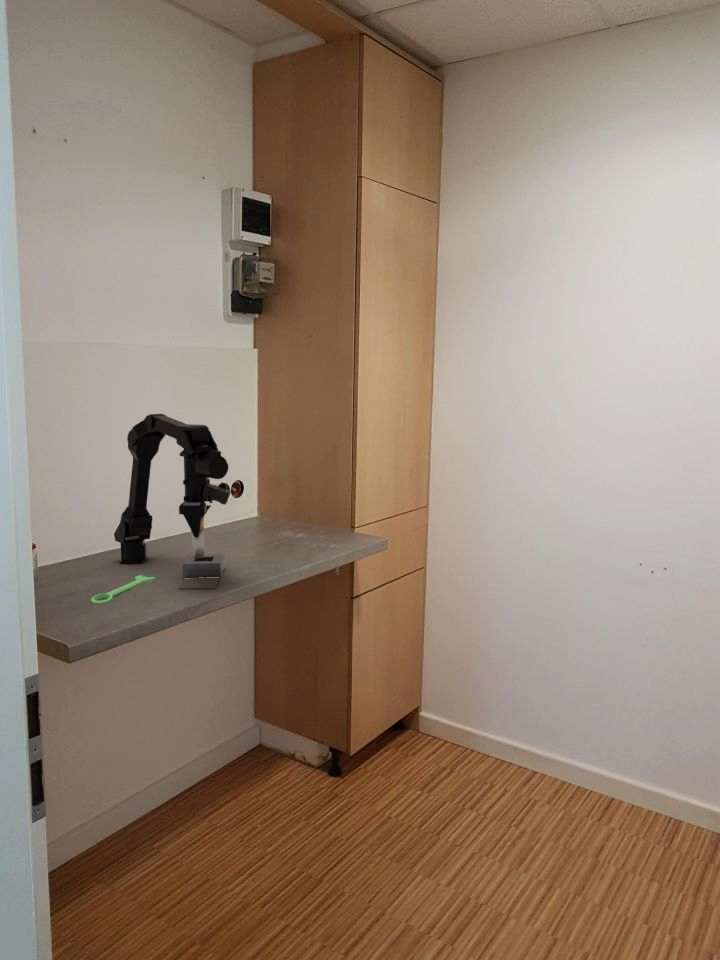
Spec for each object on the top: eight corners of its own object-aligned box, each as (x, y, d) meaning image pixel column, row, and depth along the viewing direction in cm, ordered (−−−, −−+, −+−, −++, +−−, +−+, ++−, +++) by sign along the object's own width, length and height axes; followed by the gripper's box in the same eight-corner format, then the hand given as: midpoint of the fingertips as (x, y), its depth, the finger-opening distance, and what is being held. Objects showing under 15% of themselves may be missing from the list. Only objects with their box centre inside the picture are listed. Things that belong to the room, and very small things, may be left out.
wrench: (159, 581, 211) (141, 579, 213) (159, 574, 211) (141, 572, 212) (105, 606, 187) (86, 604, 189) (105, 598, 187) (86, 596, 188)
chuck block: (182, 578, 210) (182, 563, 209) (188, 569, 220) (187, 554, 219) (220, 578, 211) (220, 563, 210) (224, 568, 221) (224, 554, 220)
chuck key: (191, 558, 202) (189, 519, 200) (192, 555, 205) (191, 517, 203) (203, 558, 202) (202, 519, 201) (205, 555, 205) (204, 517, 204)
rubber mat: (178, 589, 200) (178, 588, 200) (183, 580, 209) (183, 578, 208) (214, 589, 200) (214, 587, 200) (218, 579, 209) (218, 578, 209)
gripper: (224, 480, 192) (225, 543, 194) (231, 470, 210) (232, 528, 212) (177, 480, 191) (179, 544, 193) (188, 470, 209) (190, 528, 212)
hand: (197, 535), depth 203 cm, fingers closed on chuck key, 3 cm apart
